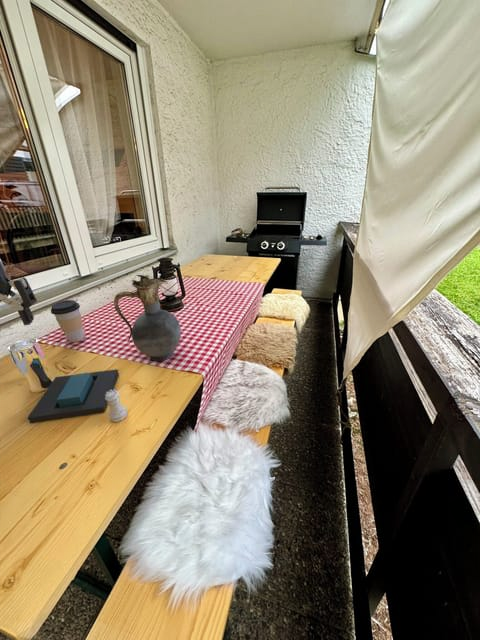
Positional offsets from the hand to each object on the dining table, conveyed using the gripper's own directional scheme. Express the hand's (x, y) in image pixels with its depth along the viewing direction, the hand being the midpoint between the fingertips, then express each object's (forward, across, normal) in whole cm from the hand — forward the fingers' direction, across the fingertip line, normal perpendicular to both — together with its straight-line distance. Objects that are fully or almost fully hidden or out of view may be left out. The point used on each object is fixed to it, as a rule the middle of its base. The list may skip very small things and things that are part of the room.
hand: (7, 325), depth 58 cm
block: (+26, -6, -4) cm, 27 cm away
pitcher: (+26, -26, -20) cm, 42 cm away
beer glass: (+26, +7, -11) cm, 29 cm away
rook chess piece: (+26, -19, +6) cm, 33 cm away
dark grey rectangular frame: (+26, -6, -4) cm, 27 cm away
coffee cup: (+26, +7, -39) cm, 48 cm away
